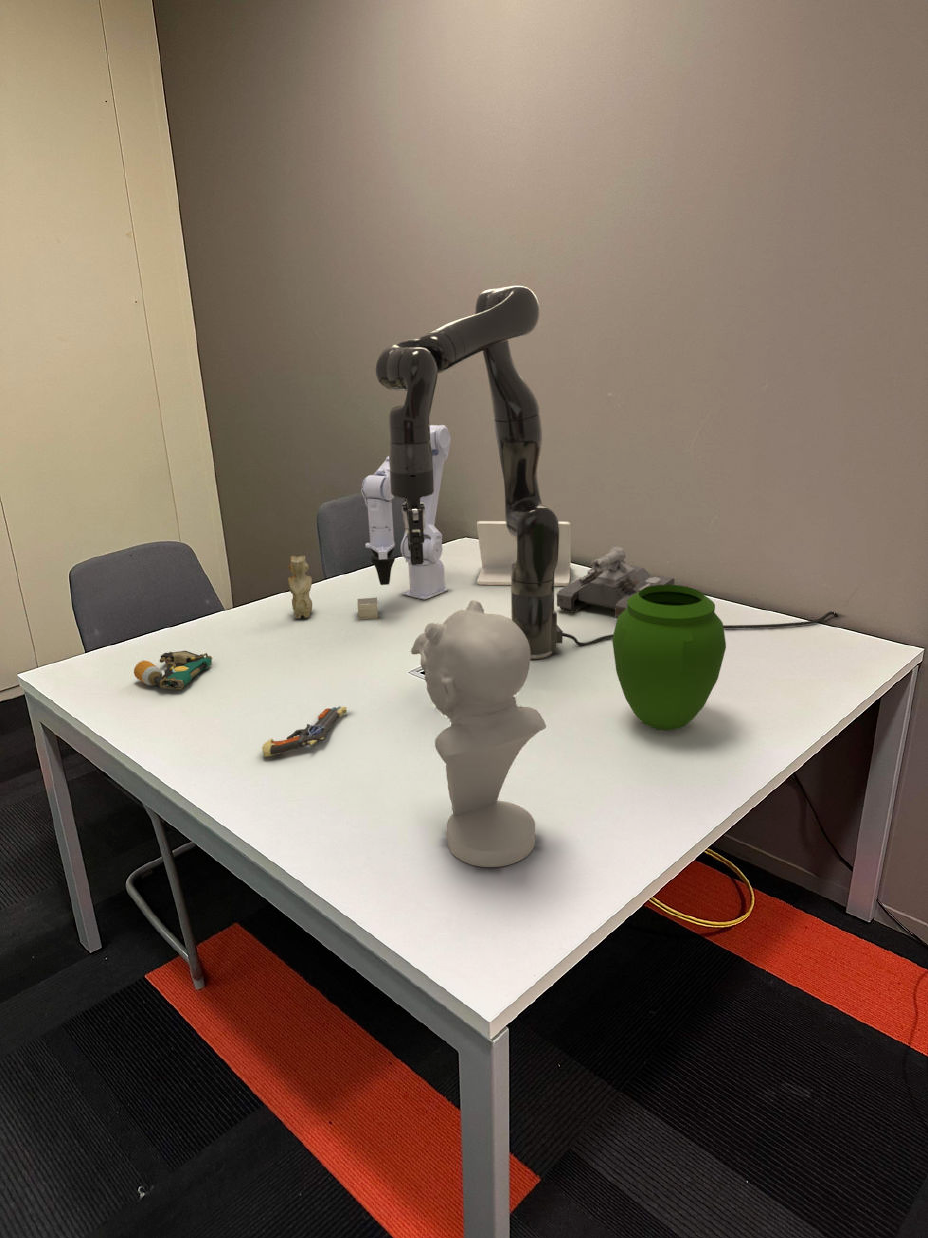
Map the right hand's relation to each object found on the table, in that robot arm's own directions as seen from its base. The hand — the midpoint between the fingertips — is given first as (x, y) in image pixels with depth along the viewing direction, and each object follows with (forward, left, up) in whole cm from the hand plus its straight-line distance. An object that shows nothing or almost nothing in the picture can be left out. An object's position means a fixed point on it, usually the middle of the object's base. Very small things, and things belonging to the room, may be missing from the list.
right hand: (415, 557), depth 154 cm
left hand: (+1, -52, -20) cm, 56 cm away
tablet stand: (-40, -74, -30) cm, 89 cm away
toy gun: (+22, +6, -30) cm, 38 cm away
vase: (-42, +17, -30) cm, 54 cm away
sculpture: (+21, -58, -30) cm, 68 cm away
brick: (+6, -53, -30) cm, 61 cm away
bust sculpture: (0, +43, -30) cm, 52 cm away
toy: (-56, -44, -30) cm, 77 cm away
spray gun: (+48, -27, -30) cm, 63 cm away
